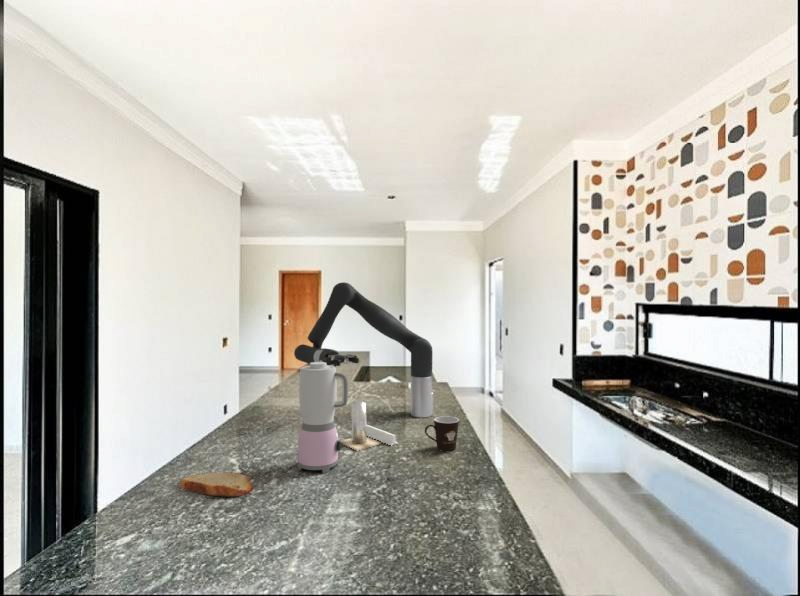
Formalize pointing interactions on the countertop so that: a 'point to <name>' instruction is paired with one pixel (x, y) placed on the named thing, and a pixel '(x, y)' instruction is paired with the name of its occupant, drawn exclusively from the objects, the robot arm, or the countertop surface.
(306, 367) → the blender
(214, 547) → the countertop surface
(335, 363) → the robot arm
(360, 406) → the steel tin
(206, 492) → the bread slice
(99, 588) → the countertop surface
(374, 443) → the oak board
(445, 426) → the coffee mug
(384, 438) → the acrylic fence
